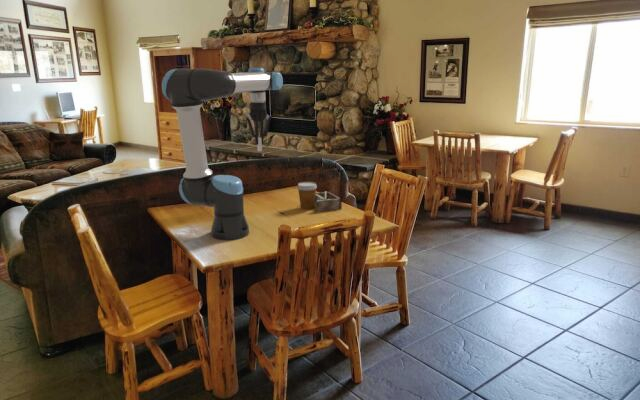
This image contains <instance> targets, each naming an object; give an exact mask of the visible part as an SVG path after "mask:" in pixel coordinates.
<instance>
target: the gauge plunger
mask: <svg viewBox="0 0 640 400" xmlns="http://www.w3.org/2000/svg"><path fill="white" fill-rule="evenodd" d="M324 192H325V198H323V197H322V196H320V195H318V194H315V203H314V206H316V200H324V199H326V192H327V191H326V190H325V191H324Z"/></svg>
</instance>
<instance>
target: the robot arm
mask: <svg viewBox="0 0 640 400" xmlns="http://www.w3.org/2000/svg"><path fill="white" fill-rule="evenodd" d="M283 84H284V79H283V75H282V74H281V73H280V72H278V71H265V68H263V67H254V68H253V67H250V68H248V72H247V71H246V72H244V71H239V72H236V73H233V72H232V73H231V72H230V71H227V70H216V69H211V68H203V67H202V68H184V67H183V68H173V69H170V70H168V71H167V72H166V73H165V75H164V76H163V78H162V81H161V90H162V94H163V96H164V97H165V99H167V100H169V101H170V104H171V108H172V109H174V110H175V111H176V116H177V120H178V121H177V122H178V127H179V134H180V139H181V146H182V151H183V158H184V164H185V172H184V173H183V175H182V178H181V179H180V181H179V182H180V183H179V185H178V192H179V194H180V198H181V199H182V200H183V201H184V202H185V203H187V204H190V205H193V206H203V207H210V208H213V210H214V214H213V215H214V216H213V221H212V224H211V228H210V234H211V237H212V238H214V239H218V240H225V241H227V240H228V241H229V240H237V239H241V238H245V237H246V236H248V235H249V234H250V227H249V224H248V221H247V219H246V216H245V208H244V187H243V181H242V180H241V179H240V178H239V177H237V176H234V175H229V174H226V175H225V174H217V175H214V174H213V170H212V169H210V167H209V165H208V159H207V158H208V157H207V152H206V144H205V138H204V137H205V136H204V131H203V130H204V129H203V124H202V116H201V108H202V106H203V105H204V102H206V101H213V100H217V99H222V98H230V97H231V96H233V95H234V94H240V93H241V94H243V93H249V113H248V115H247V116H244V119H245V121H246V123H247V126H248V129H249V133H250V136H251V137H253V138H254V143H255V145H256V146H257V149H256V150H257V151H258V152H262V151H263V146H262V145H264V138H265V137H267V136H268V133H269V132H268V131H269V128H270V127H269V126H270V123H271V120H272V117H273V116H271V115H269V114H268V113H267V102H266V100H267V99H266V91H271V90H272V91H277V90H278V91H279V90H281V89H282V87H283ZM251 119H252V121H253V124H254V126H253V124H252V121H251ZM265 119H266V121H265V125H264V120H265Z"/></svg>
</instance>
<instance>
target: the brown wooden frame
mask: <svg viewBox="0 0 640 400" xmlns="http://www.w3.org/2000/svg"><path fill="white" fill-rule="evenodd" d="M316 194H318V195H320V196H322V197H323V198H325V191H323V192H316ZM342 203H343V200H342V198H341V197H339V196H337V195H335V194H333V193H332V192H330V191H326V199H324V200H316V205H315V207H316V212H317V213H321V212H329V211H338V210H342V209H343V208H342V206H343V205H342Z"/></svg>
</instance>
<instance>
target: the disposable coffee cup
mask: <svg viewBox="0 0 640 400" xmlns="http://www.w3.org/2000/svg"><path fill="white" fill-rule="evenodd" d="M296 187H297V189H298V196H299V202H300V209H301V210H304V211H310V210H313V209H315V204H314V203H315V194H316V193H317V187H318V186H317V184H316V182H312V181H304V182H303V181H302V182H298V184H297V186H296Z"/></svg>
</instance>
